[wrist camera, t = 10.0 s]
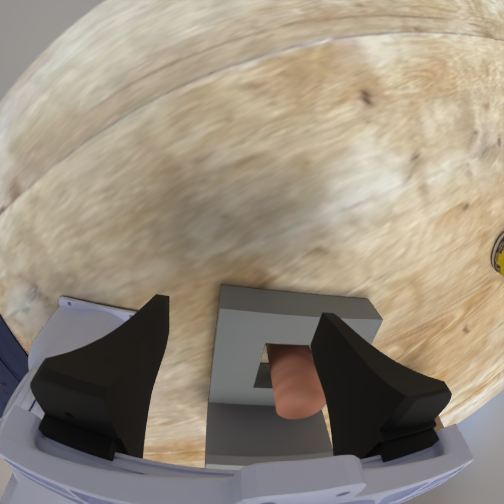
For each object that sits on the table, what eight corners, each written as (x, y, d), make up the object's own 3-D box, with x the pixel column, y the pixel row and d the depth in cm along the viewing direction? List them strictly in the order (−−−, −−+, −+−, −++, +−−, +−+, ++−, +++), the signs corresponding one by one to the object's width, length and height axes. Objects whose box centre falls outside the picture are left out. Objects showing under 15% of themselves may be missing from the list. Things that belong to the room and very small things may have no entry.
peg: (263, 356, 27) (272, 420, 20) (269, 326, 25) (281, 392, 18) (301, 356, 27) (318, 417, 20) (310, 327, 26) (332, 390, 18)
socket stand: (207, 402, 30) (204, 480, 20) (221, 284, 23) (215, 387, 13) (316, 404, 31) (335, 475, 21) (368, 298, 25) (423, 379, 15)
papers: (-56, 334, 24) (-64, 344, 21) (1, 293, 25) (-12, 306, 22) (12, 418, 34) (8, 429, 30) (95, 410, 35) (91, 427, 31)
